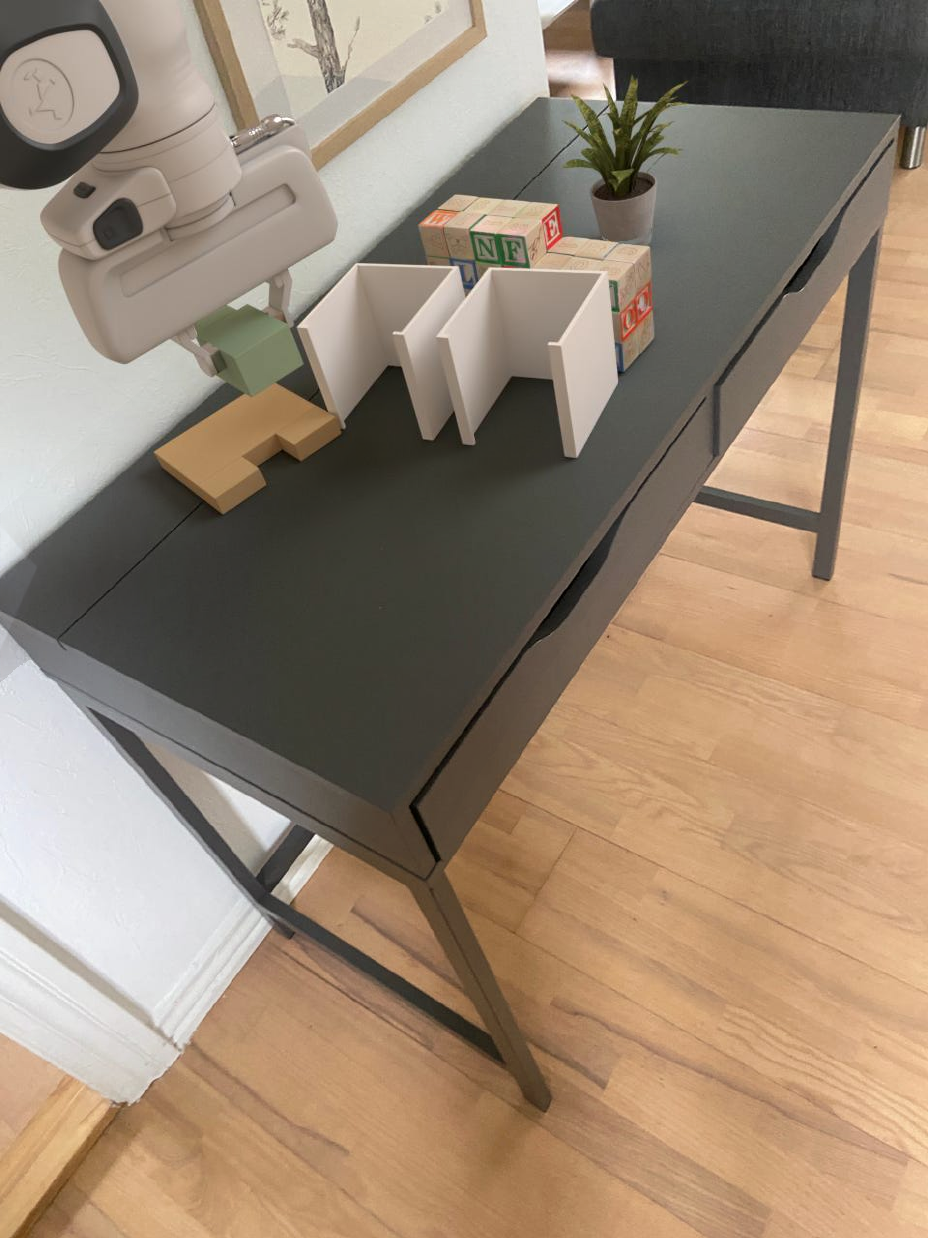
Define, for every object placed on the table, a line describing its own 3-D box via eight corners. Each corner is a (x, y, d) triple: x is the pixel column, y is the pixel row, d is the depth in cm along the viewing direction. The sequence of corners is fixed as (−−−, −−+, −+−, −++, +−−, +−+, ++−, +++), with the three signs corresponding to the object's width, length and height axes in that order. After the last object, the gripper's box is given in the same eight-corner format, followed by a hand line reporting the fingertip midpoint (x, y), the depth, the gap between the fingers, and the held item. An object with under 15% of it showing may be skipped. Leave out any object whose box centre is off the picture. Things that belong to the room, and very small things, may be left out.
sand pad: (223, 515, 83) (214, 498, 82) (162, 467, 90) (153, 451, 89) (342, 433, 88) (335, 416, 86) (275, 394, 95) (268, 378, 93)
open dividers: (618, 382, 84) (607, 271, 76) (576, 458, 78) (560, 345, 70) (386, 362, 95) (356, 262, 87) (334, 428, 89) (296, 327, 81)
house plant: (709, 265, 94) (709, 95, 83) (575, 290, 96) (556, 128, 85) (687, 205, 104) (684, 45, 92) (566, 229, 106) (547, 75, 94)
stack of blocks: (656, 338, 88) (649, 212, 79) (624, 374, 85) (613, 248, 76) (478, 305, 99) (454, 191, 90) (444, 336, 96) (415, 222, 87)
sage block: (251, 398, 69) (233, 357, 66) (198, 364, 74) (179, 326, 71) (304, 364, 71) (288, 324, 68) (248, 334, 76) (231, 295, 73)
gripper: (270, 97, 66) (331, 275, 76) (16, 227, 59) (119, 405, 69) (319, 108, 62) (376, 294, 72) (53, 249, 55) (157, 433, 65)
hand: (249, 350), depth 70 cm, fingers closed on sage block, 5 cm apart
